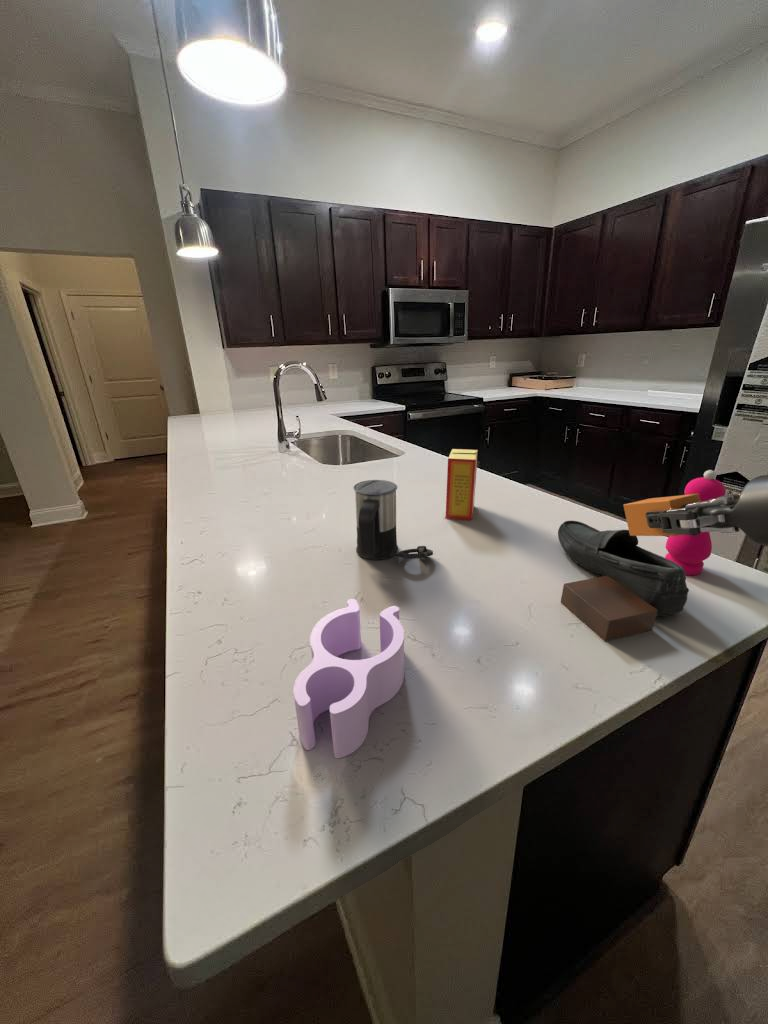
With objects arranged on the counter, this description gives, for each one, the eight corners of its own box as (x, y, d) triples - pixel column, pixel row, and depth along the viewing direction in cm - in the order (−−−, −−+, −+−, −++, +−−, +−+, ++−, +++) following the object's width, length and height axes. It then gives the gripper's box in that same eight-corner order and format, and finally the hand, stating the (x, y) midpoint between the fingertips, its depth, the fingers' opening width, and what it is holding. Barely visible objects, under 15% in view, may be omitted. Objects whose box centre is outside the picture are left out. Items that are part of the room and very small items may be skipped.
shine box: (652, 630, 66) (658, 610, 64) (604, 641, 63) (609, 621, 62) (603, 593, 75) (607, 575, 73) (560, 602, 73) (563, 583, 71)
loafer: (579, 538, 95) (587, 496, 90) (704, 613, 69) (723, 559, 65) (540, 546, 92) (546, 503, 88) (656, 626, 66) (672, 571, 62)
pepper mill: (712, 571, 81) (745, 472, 73) (690, 580, 78) (722, 479, 70) (674, 555, 87) (701, 462, 79) (652, 563, 84) (678, 468, 76)
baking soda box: (471, 520, 105) (475, 458, 99) (445, 517, 107) (448, 457, 100) (473, 506, 113) (478, 448, 107) (449, 504, 115) (452, 447, 109)
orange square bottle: (715, 528, 52) (708, 492, 52) (685, 536, 51) (677, 499, 51) (656, 529, 61) (649, 498, 61) (629, 535, 60) (623, 504, 60)
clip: (373, 768, 46) (371, 723, 43) (273, 740, 49) (265, 696, 46) (414, 646, 63) (415, 608, 60) (338, 632, 67) (335, 595, 64)
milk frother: (355, 541, 96) (352, 479, 90) (423, 537, 97) (424, 476, 91) (358, 574, 83) (354, 505, 77) (436, 568, 84) (439, 500, 78)
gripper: (863, 456, 41) (701, 479, 58) (748, 483, 38) (613, 498, 55) (880, 531, 41) (713, 532, 58) (765, 563, 38) (625, 554, 55)
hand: (665, 515), depth 56 cm, fingers closed on orange square bottle, 4 cm apart
